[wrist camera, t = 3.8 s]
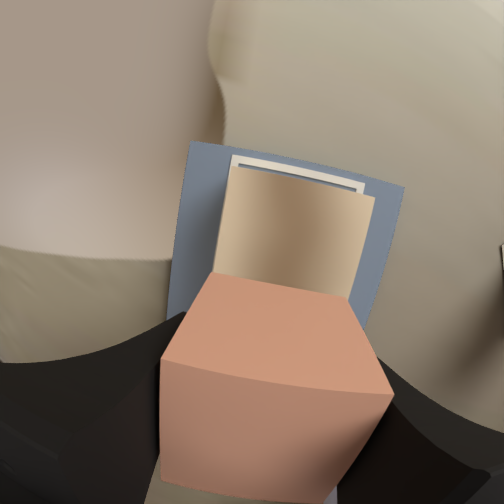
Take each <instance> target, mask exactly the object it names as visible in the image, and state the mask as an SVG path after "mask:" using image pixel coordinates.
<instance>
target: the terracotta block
mask: <svg viewBox="0 0 504 504" xmlns="http://www.w3.org/2000/svg"><path fill="white" fill-rule="evenodd" d="M393 396H394V392H393V390H392V388H391V386H390V384H389V382H388V380H387V378H386V375H385V373H384V371H383V369H382V367H381V365H380V363H379V361H378V359H377V357H376V355H375V353H374V351H373V349H372V347H371V345H370V343H369V341H368V339H367V337H366V335H365V333H364V331H363V329H362V327H361V325H360V323H359V321H358V320H357V318H356V316H355V314H354V312H353V310H352V308H351V306H350V304H349V302H348V301H347V299H346V297H341V296H336V295H330V294H324V293H319V292H313V291H308V290H302V289H297V288H292V287H286V286H281V285H276V284H271V283H265V282H260V281H255V280H250V279H245V278H240V277H235V276H230V275H225V274H220V273H215V272H211V273H210V275H209V276H208V278H207V280H206V281H205V283H204V285H203V286H202V288H201V290H200V292H199V293H198V295H197V297H196V298H195V300H194V302H193V303H192V305H191V307H190V309H189V310H188V312H187V314H186V315H185V317H184V319H183V321H182V322H181V324H180V326H179V328H178V329H177V331H176V333H175V334H174V336H173V338H172V340H171V341H170V343H169V345H168V347H167V348H166V350H165V352H164V354H163V355H162V357H161V363H160V466H161V481H164V482H168V483H171V484H175V485H179V486H183V487H187V488H192V489H196V490H201V491H205V492H210V493H216V494H221V495H227V496H233V497H240V498H247V499H255V500H264V501H275V502H289V503H315V504H322V503H323V502H324V501H325V499H326V498H327V497H328V496H329V494H330V493H331V492H332V491H333V489H334V488H335V487H336V485H337V484H338V483H339V481H340V480H341V479H342V477H343V476H344V474H345V473H346V472H347V470H348V469H349V468H350V466H351V465H352V463H353V462H354V460H355V459H356V457H357V456H358V454H359V453H360V451H361V450H362V448H363V447H364V445H365V444H366V442H367V441H368V439H369V437H370V436H371V434H372V433H373V431H374V429H375V428H376V426H377V424H378V423H379V421H380V419H381V418H382V416H383V414H384V412H385V411H386V409H387V407H388V405H389V404H390V402H391V400H392V398H393Z"/></svg>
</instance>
